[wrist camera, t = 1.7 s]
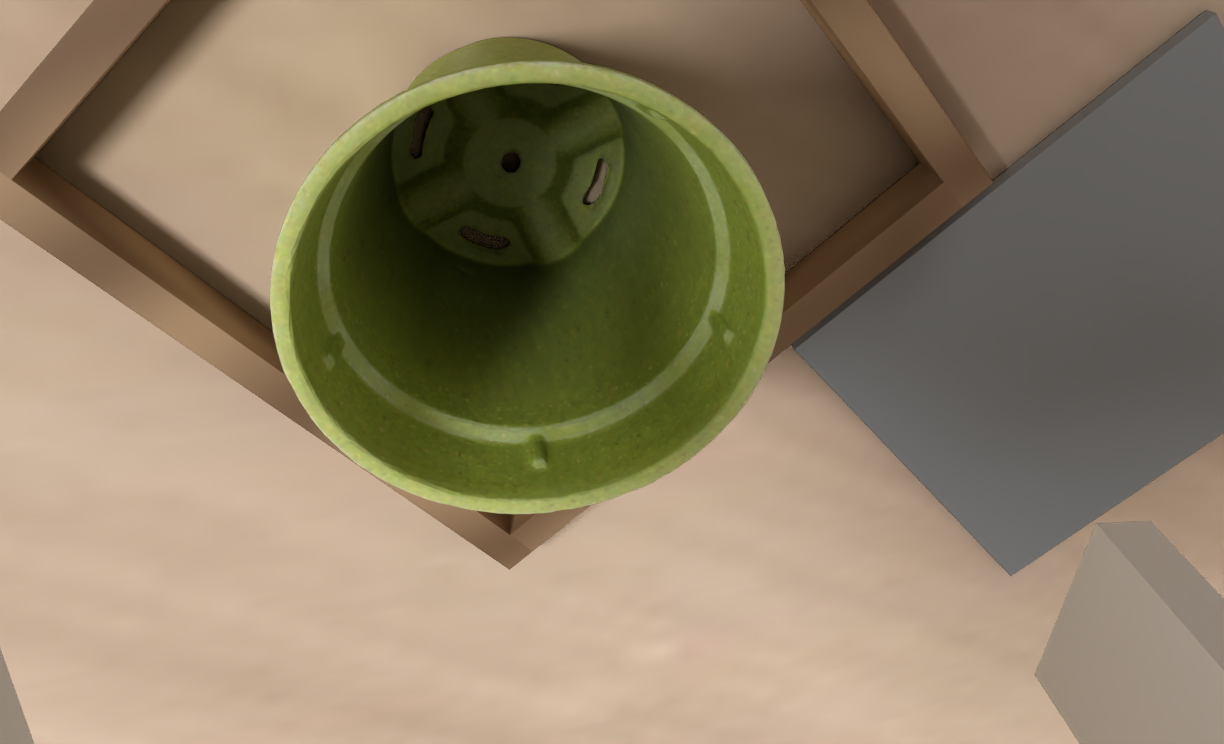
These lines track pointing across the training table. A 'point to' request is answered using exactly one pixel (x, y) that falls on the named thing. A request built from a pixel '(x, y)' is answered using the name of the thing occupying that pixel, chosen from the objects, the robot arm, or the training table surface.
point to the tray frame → (246, 350)
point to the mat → (1057, 316)
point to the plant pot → (527, 284)
